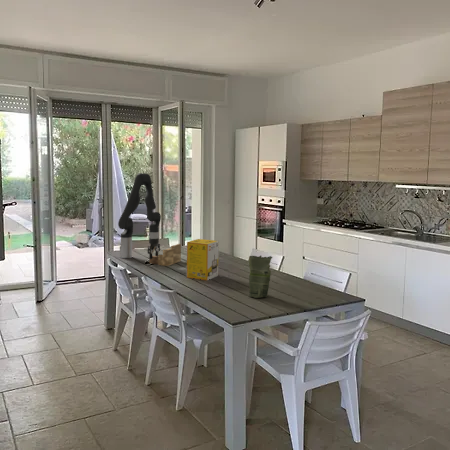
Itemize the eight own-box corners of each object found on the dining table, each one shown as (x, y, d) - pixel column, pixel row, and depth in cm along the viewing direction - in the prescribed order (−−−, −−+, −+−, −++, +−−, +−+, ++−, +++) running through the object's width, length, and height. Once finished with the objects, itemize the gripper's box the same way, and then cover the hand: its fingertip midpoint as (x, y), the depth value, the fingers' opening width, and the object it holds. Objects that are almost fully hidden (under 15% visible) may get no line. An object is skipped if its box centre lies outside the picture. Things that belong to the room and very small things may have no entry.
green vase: (245, 295, 278) (246, 254, 275) (261, 292, 284) (262, 252, 281) (256, 300, 269) (257, 257, 265) (272, 297, 275) (274, 256, 272)
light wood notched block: (158, 265, 357) (158, 247, 355) (172, 260, 376) (172, 243, 374) (167, 266, 354) (167, 248, 352) (180, 261, 373) (180, 244, 371)
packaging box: (198, 272, 333) (198, 238, 330) (218, 275, 326) (218, 240, 323) (186, 277, 319) (186, 242, 316) (207, 280, 312) (207, 244, 309)
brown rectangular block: (149, 263, 363) (149, 255, 363) (152, 262, 367) (152, 255, 367) (163, 264, 358) (163, 257, 358) (166, 263, 362) (166, 256, 361)
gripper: (154, 235, 369) (154, 255, 372) (144, 238, 356) (144, 258, 359) (162, 236, 366) (162, 256, 369) (153, 239, 353) (152, 260, 356)
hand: (153, 257), depth 364 cm, fingers open, 8 cm apart
